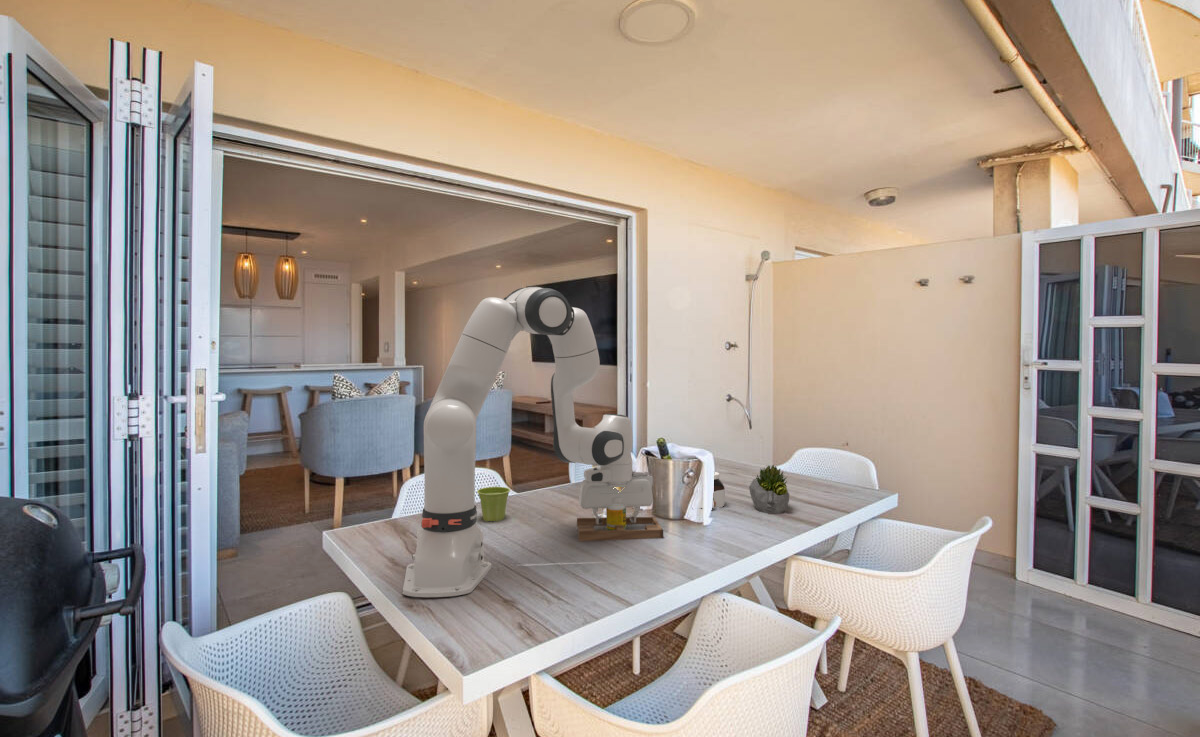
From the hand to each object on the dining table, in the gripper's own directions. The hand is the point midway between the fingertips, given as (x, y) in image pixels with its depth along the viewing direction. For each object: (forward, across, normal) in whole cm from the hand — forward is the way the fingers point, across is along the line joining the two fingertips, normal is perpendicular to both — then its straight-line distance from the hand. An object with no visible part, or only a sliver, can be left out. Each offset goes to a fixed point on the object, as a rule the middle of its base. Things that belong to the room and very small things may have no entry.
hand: (615, 523), depth 154 cm
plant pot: (+2, +33, -16) cm, 37 cm away
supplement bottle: (+2, 0, 0) cm, 2 cm away
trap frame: (+2, 0, +2) cm, 3 cm away
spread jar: (+2, -32, -16) cm, 36 cm away
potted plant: (+2, -51, -11) cm, 52 cm away
